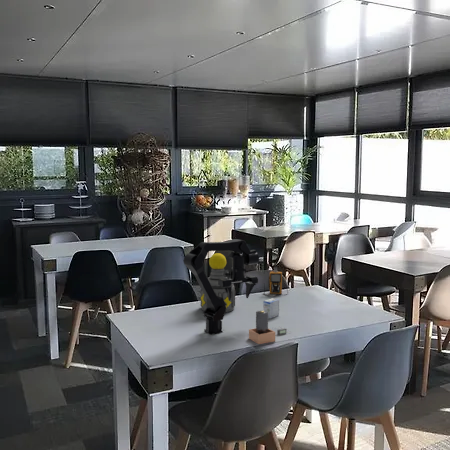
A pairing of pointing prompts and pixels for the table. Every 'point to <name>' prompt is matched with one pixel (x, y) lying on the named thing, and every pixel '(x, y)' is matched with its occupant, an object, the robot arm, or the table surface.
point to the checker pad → (280, 331)
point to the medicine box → (271, 307)
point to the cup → (262, 336)
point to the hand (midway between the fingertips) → (238, 299)
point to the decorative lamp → (217, 266)
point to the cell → (261, 322)
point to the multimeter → (275, 282)
